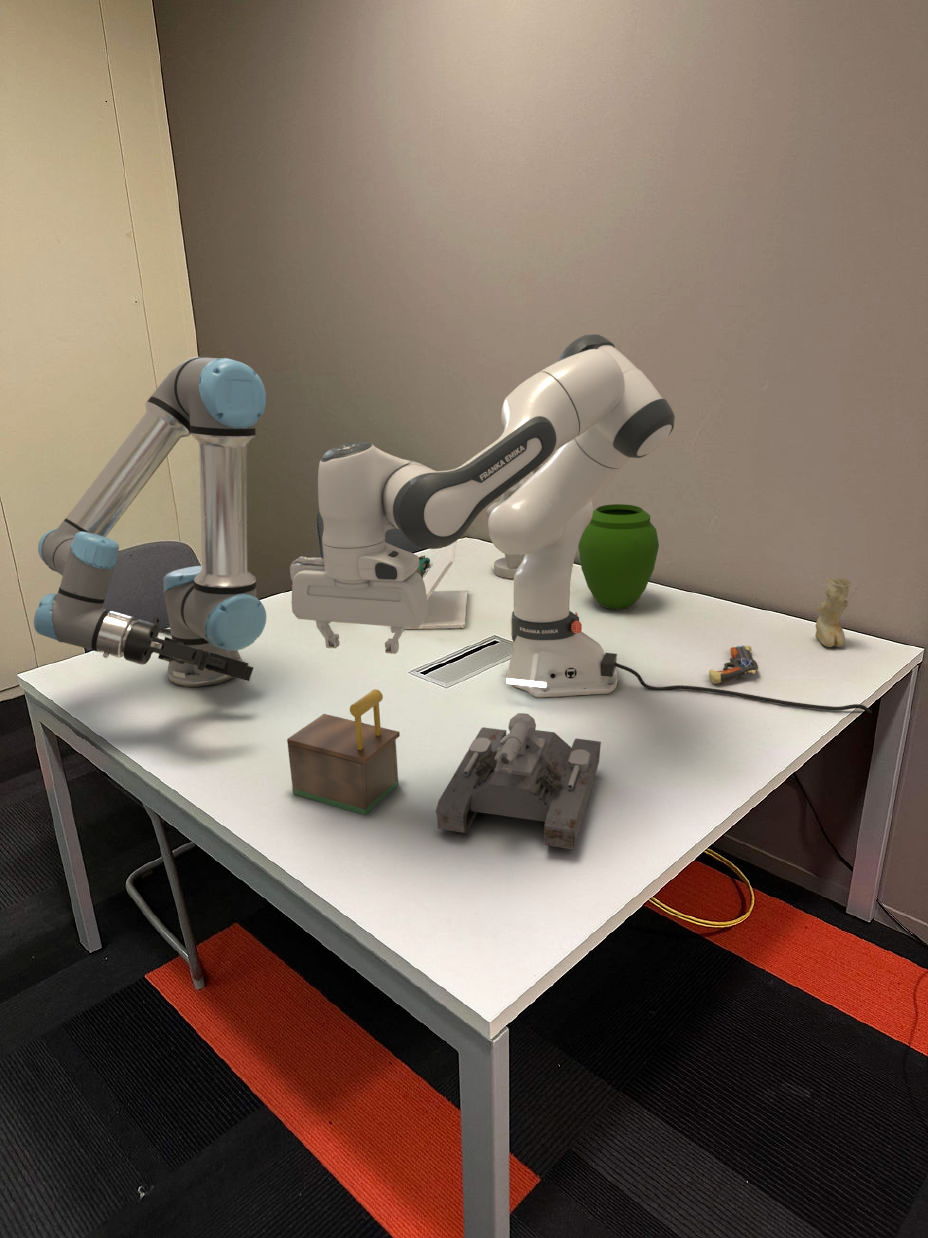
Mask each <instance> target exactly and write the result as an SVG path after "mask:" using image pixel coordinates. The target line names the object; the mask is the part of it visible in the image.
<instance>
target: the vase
mask: <svg viewBox="0 0 928 1238" xmlns="http://www.w3.org/2000/svg"><path fill="white" fill-rule="evenodd" d="M659 543H660V542H659V537H658V531H657V528H656V527H655V526H654V524H653V523H652V522H651V515H650V514H649V512H647V511H645V510H644V509H643V508H642V507H641V506H638V505H633V504H622V503H621V504H619V503H616V504H615V503H614V504H604V505H601V506H598V507H597V508H595V509H593V516H592V519H591V521H590V523H589V524H588V526H587V527H586V529H585V531H584V532H583V535H582V537H581V540H580V542H579V546H578V554H579V562H580V569H581V571H582V574H583V577H584V580H585V583H586V585H587V588H588V590H589V591H590V594H592V597H593V598H594V600H595V601H596V602H597V603H598V604H599V605H600V606H602V607H604V608H606V609H609V610H625V609H628V608H630V607H632V606H634V604H636V602H638V601H639V599H640V597H641V596H642V595H643V593H644V592H645V590H646V588H647V586H648V584H649V581H650V579H651V577H652V574H653V572H654V570H655V566H656V562H657V557H658V552H659V548H660V544H659Z"/></svg>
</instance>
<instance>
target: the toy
mask: <svg viewBox="0 0 928 1238" xmlns="http://www.w3.org/2000/svg"><path fill="white" fill-rule="evenodd" d="M536 728H537V724H536V720H535V718H534V717H533V716H531V714H529V713H523V712H517V713H516V714H515V715H514V716H512V717H511V718H510V719H509V721H508V731H509V733H507V729H499V728H492V727H483V726H482V727H481V728H480V729H479V731H478V733H477V735H476V736H475V738H474V739H473V740H472V742H471V743H470V744H469V747H468V750H467V752H466V753H465V755H464V757H463V758H462V760H461V761H460V764H459V765H458V767H457V768H456V770H455V772H454V773H453V775H452V777H451V778H450V781H449V782H448V784H447V786H446V787H445V789H444V791H443V792H442V794H441V796H440V798H439V799H438V802H437V805H436V807H435V808H436V809H435V814H436V823H437V824H436V825H437V829H438V830H441V831H449V832H457V833H462V834H468V832H469V831H470V829H471V827H472V824H473V823H474V821H475V819H476V817H477V815H478V813H481V814H482V813H483V814H489V815H494V816H495V815H496V816H501V817H502V816H503V817H509V818H515V819H516V818H518V819H524V820H530V821H537V822H544V825H543V826H544V830H543V832H544V833H543V834H544V836H543V838H544V840H543V842H544V843H543V844H544V846H550V847H556V848H562V849H567V850H573V849H574V847H575V844H576V842H577V839H578V835H579V833H580V832H579V831H580V829H581V825H582V822H583V818H584V815H585V812H586V808H587V804H588V801H589V798H590V795H591V791H592V788H593V784H594V781H595V778H596V774H597V771H598V768H599V764H600V759H601V758H600V756H601V746H602V741H601V740H593V739H592V740H591V739H586V738H585V739H583V738H576V737H575V738H574V740H573V743H572V745H569V744H568V743H567V742H566V741H565V740H564V739H562V738H561V737H560V736H559V735H558V734H557V733H556V732H555V731H549V730H539V729H536Z"/></svg>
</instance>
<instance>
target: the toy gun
mask: <svg viewBox="0 0 928 1238" xmlns="http://www.w3.org/2000/svg"><path fill="white" fill-rule="evenodd" d="M752 649H753V647H752V646H751V645H741V646H739V645H737V646H731V647H730V655H731V657H732V658H729V662H725V663H724V664H723V666H724V667H723V668H722V670H715V669H712V668H711V669H709V670H708V675H709V676H708V677H709V680H710V682H711V683H712V684H721V683H725V682H729V681H732V680H734V679H738V678H742V677H745V676H747V675H749V674H753V675H755V674H756V672H757V671H758V670H760V668H759V665H758V662H757V661H756V660H755V659H754V657H753V655H752V653H751V652H752V651H753V650H752Z"/></svg>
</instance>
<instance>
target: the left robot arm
mask: <svg viewBox="0 0 928 1238" xmlns="http://www.w3.org/2000/svg"><path fill="white" fill-rule="evenodd" d="M266 392H267V391H266V387H265V385H264V383H263V380H262V378H261V377H260V376H259V374H258V373H257V372H256V371H255V370H254V369H253V368H252V367H251V366H249V365H247V364H246V363H244V362H241V361H238V360H235V359H232V358H227V357H223V358H222V357H221V358H217V357H205V356H194V357H191V358H187V359H186V360H183V361H181V362H180V363H178V364H177V365H176V366H175V367H174V368H173V369H172V370H171V371H170V372H169V373H168V374H167V375H166V376H165V378H164V379H162V381H161V382H160V384H159V385H158V386H157V387H156V389H155V390H154V392H153V393H152V394H151V396H149V398H148V400H147V401H146V402H145V403H144V405H145V411H146V412H145V413H144V414H143V415H142V417H141V418H140V420H139V421H138V422H137V424H136V425H135V426H134V428H133V429H132V430H131V431H130V433H129V434H128V435H127V437H126V438H125V440H124V441H123V442H122V443H121V444H120V446H119V447H118V449H117V450H116V451H115V452H114V454H113V455H112V457H111V458H110V459H109V461H108V462H107V463H106V464H105V466H104V467H103V469H102V470H101V471H100V472H99V474H98V475H97V476H96V478H95V479H94V480H93V482H92V483H91V484H90V486H89V487H88V488H87V490H85V492H84V494H83V495H82V496H81V497H80V499H79V500H78V502H77V503H76V504H75V505H74V506H73V508H72V509H71V510H70V512H69V513H68V514H67V516H66V517H65V518H64V519H63V521H62V522H61V523H60V525H59V526H58V527H57V528H53V529H51V530H49V531H47V532H45V533H44V534H43V535H42V536H41V537H40V539H39V541H38V545H37V553H38V555H39V558H40V559H41V560H42V562H43V563H44V564H45V565H46V566H47V567H48V569H50V570H51V571H53V572H56V573H58V574H59V575H61V576H62V577H61V581H60V585H59V587H58V590H57V592H56V593H47V594H45V595H43V597H42V598H41V600H40V601H39V603H38V606H37V608H36V610H35V612H34V616H33V627H34V630H35V631H36V633H37V634H38V635H41V636H43V637H46V638H49V639H52V640H55V641H57V642H59V643H64V644H68V645H72V646H74V647H75V646H76V647H79V648H83V649H87V650H90V651H93V652H96V653H98V652H99V653H102V657H103V658H105V659H109V657H110V656H111V657H115V658H118V659H120V658H122V657H123V659H125V661H128V662H131V663H135V664H139V665H146V664H147V663H148V662H149V661H150V659H151V657H152V654H153V653H154V654H158V657H157V659H159V660H162V661H166V662H168V663H167V664H168V665H167V675H168V676H167V677H168V680H169V681H170V682H171V683H173V684H175V685H177V686H181V687H189V688H201V687H208V686H214V685H218V684H221V683H224V682H227V681H229V680H232V679H234V678H235V679H238V680H243V681H246V682H250V680H251V677H252V674H253V671H254V666H250V665H249V663H248V662H244V661H243V659H242V657H241V655H240V652H239V651H241V650H243V649H246V648H248V647H250V646H251V645H253V644H254V643H255V641H256V640H258V638H260V637H261V635H262V634H263V632H264V631H265V627H266V624H267V611H266V608H265V606H264V604H263V602H262V601H261V600H260V599H259V598H258V597H257V578H256V576H255V575H254V574H252V573H251V571H250V570H249V531H248V530H249V529H248V528H249V527H248V526H249V524H248V523H249V522H248V519H249V515H248V513H249V510H248V509H249V507H248V501H249V500H248V445H249V444H250V443H251V442H252V441H253V440H254V439H255V438H256V435H257V434H256V433H257V432H256V431H257V430H256V428H257V427H256V425H257V424H256V423H257V422H259V419H260V418H261V417H262V416H263V415H264V413H265V410H266V406H267V393H266ZM190 435H191V436H192V437H193V438H194V439H195V440H196V442H197V443H198V457H199V458H198V459H199V494H200V495H199V496H200V497H199V498H200V532H201V533H200V539H201V540H200V541H201V543H200V544H201V565H195V566H189V567H183V568H179V569H175V570H173V571H170V572H168V573H166V574H165V576H164V577H163V579H162V585H163V589H162V592H163V594H164V600H165V606H166V613H167V618H168V619H167V620H168V625H169V628H167V627H163V626H161V625H159V624H158V621H159V617H158V616H157V615H155V616H154V617H153V619H152V622H151V621H147V620H144V619H141V618H138V619H135V617H134V616H132V615H128V614H124V613H122V612H118V611H115V610H109V609H106V608H104V607H103V606H104V603H105V601H106V596H107V593H108V590H109V586H110V583H111V580H112V576H113V574H114V570H115V567H116V566H117V562H118V556H119V555H118V554H119V550H120V545H119V543H118V542H117V540H115V539H111V538H109V537H107V536H108V535H109V533H110V532H112V530H113V528H114V527H115V526H116V524H117V523H118V522H119V520H120V519H121V518H122V516H123V515H124V513H125V512H127V510H128V508H129V507H130V506H131V504H132V503H133V502H134V501H135V499H136V497H137V496H139V494H140V492H141V491H142V490H143V488H144V487H145V486H146V484H147V483H148V482H149V481H150V479H151V478H152V476H153V475H154V474H155V472H156V471H157V469H158V468H160V466H161V465H162V463H163V462H164V460H165V459H166V458H167V457H168V455H169V454H170V452H171V451H172V450H173V449H174V447H175V446H176V444H177V443H178V442H179V441H180V440H181V438H187V437H190ZM159 632H163V633H167V634H170V636H171V637H167V636H165V637H164V639H163V638H159V637H158V636H159Z"/></svg>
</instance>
